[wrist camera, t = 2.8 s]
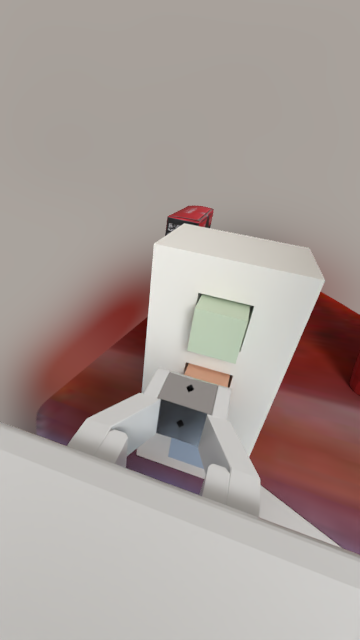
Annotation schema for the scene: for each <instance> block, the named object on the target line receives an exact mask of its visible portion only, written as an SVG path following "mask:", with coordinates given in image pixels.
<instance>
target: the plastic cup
mask: <svg viewBox="0 0 360 640" xmlns="http://www.w3.org/2000/svg"><path fill="white" fill-rule="evenodd" d="M349 385H350V387H351V389H352V390H353V391H354V392H355V393H357V394H358V395H360V351H359V354H358V357H357V360H356V363H355V365H354V368H353V373H352V376H351V379H350V383H349Z"/></svg>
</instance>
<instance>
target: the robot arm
mask: <svg viewBox="0 0 360 640" xmlns="http://www.w3.org/2000/svg"><path fill="white" fill-rule="evenodd" d="M230 396H231V388H228V387H225V386H221V385H217V384H213V383H210V382H206V381H203V380H200V379H196V378H193V377H190V376H187V375H183V374H180V373H177V372H174V371H170V370H167V369H164V368H161V367H159V368H157V370H156V372H155V373H154V375H153V377H152V379H151V380H150V382H149V384H148V386H147V388H146V389H145V391H144V393H143V394H142V393H138V394H136V395H134V396H132V397H130V398H128V399H126V400H124V401H122V402H120V403H117V404H115V405H113V406H111V407H109V408H107V409H105V410H103V411H101V412H99V413H97V414H95V415H93V416H91V417H89V418H87V419H86V420H85V422H84V423H83V424H82V426H81V427H80V428H79V430H78V431H77V433H76V434H75V435H74V437H73V438H72V439H71V441H70V442H69V443H68V445H67V446H65V445H62V444H59V443H57V442H54V441H51V440H49V439H46V438H43V437H40V436H38V435H35V434H32V433H29V432H27V431H24V430H22V429H19V428H16V427H13V426H11V425H8V424H5V423H3V422H0V640H360V555H359V554H356V553H354V552H351V551H348V550H346V549H343V548H340V547H337V546H335V545H332V544H329V543H327V542H324V541H321V540H319V539H316V538H313V537H310V536H308V535H305V534H302V533H300V532H297V531H294V530H292V529H289V528H286V527H284V526H281V525H278V524H275V523H273V522H270V521H267V520H265V519H262V518H259V512H260V477H259V476H258V474H257V472H256V470H255V468H254V466H253V464H252V462H251V460H250V458H249V456H248V454H247V453H246V451H245V449H244V447H243V445H242V443H241V441H240V439H239V437H238V435H237V433H236V432H235V430H234V428H233V426H232V424H231V422H230V421H227V414H228V408H229V402H230ZM156 433H158V434H161V435H164V436H167V437H171V438H174V439H177V440H180V441H182V442H185V443H188V444H191V445H193V446H196V447H198V450H199V454H200V457H201V461H202V464H203V467H204V471H205V474H206V476H205V479H204V482H203V485H202V488H201V491H200V494H199V495H197V494H194V493H191V492H189V491H186V490H183V489H181V488H178V487H175V486H173V485H170V484H167V483H164V482H162V481H159V480H156V479H154V478H151V477H148V476H146V475H143V474H140V473H138V472H135V471H132V470H129V469H127V468H126V459H127V456H128V455H129V454H130V453H131V452H133V451H134V450H135V449H137V448H138V447H139V446H141V445H142V444H143V443H145V442H146V441H147V440H149V439H150V438H151V437H153V436H154V435H155V434H156Z"/></svg>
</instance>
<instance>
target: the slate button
mask: <svg viewBox="0 0 360 640" xmlns="http://www.w3.org/2000/svg"><path fill="white" fill-rule="evenodd" d="M168 457H171V458H173V459H176V460H179V461H182V462H185V463H188V464H191V465H193V466H196V467H199V468H202V469H204V467H203V464H202V461H201V457H200V454H199V450H198V447H196V446H193V445H191V444H188V443H185V442H182V441H180V440H177V439H174V438H171V443H170V449H169V454H168Z"/></svg>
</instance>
